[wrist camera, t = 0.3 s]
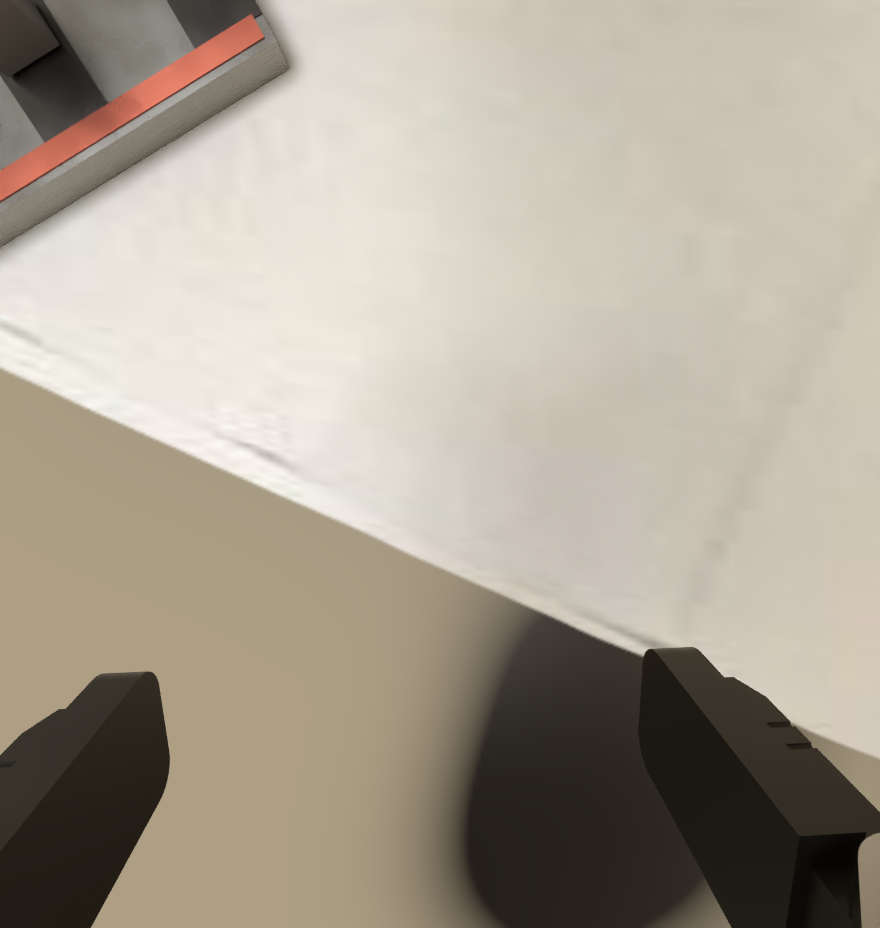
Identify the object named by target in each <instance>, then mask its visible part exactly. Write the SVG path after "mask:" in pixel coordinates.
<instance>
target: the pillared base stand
mask: <svg viewBox="0 0 880 928" xmlns="http://www.w3.org/2000/svg"><path fill="white" fill-rule="evenodd" d="M32 2H33V3H34V5H35V6H36V8H37V9H38V11H39V13H40V14H41V16H42V17H43V19H44V20H45V22H46V24H47V25H48V27H49V28H50V30H51V32H52V33H53V35H54V36H55V38H56V39H57V41H58V43H59V44H60V45H59V46H57V47H56V48H54V49H52V50H51V51H49V52H48V53H46V54H45V55H43V56H41V57H40V58H38V59H37V60H35V61H34V62H32V63H30V64H29V65H27V66H26V67H24V68H22V69H21V70H19V71H18V72H16V73H15V74H13V75H11V76H10V77H7V76H5V75H4V74H3V73H1V72H0V247H1V246H3V245H4V244H6V243H7V242H9V241H11V240H12V239H14V238H16V237H17V236H19V235H20V234H22V233H24V232H25V231H27V230H29V229H30V228H32V227H33V226H35V225H37V224H38V223H40V222H41V221H43V220H45V219H46V218H48V217H50V216H51V215H53V214H54V213H56V212H58V211H59V210H61V209H63V208H64V207H66V206H67V205H69V204H71V203H72V202H74V201H76V200H77V199H79V198H80V197H82V196H84V195H85V194H87V193H88V192H90V191H92V190H93V189H95V188H97V187H98V186H100V185H101V184H103V183H105V182H106V181H108V180H110V179H111V178H113V177H114V176H116V175H118V174H119V173H121V172H123V171H124V170H126V169H127V168H129V167H131V166H132V165H134V164H135V163H137V162H139V161H140V160H142V159H144V158H145V157H147V156H148V155H150V154H152V153H153V152H155V151H157V150H158V149H160V148H161V147H163V146H165V145H166V144H168V143H170V142H171V141H173V140H174V139H176V138H178V137H179V136H181V135H183V134H184V133H186V132H187V131H189V130H191V129H192V128H194V127H195V126H197V125H199V124H200V123H202V122H204V121H205V120H207V119H208V118H210V117H212V116H213V115H215V114H217V113H218V112H220V111H221V110H223V109H225V108H226V107H228V106H230V105H231V104H233V103H234V102H236V101H238V100H239V99H241V98H242V97H244V96H246V95H247V94H249V93H251V92H252V91H254V90H255V89H257V88H259V87H260V86H262V85H264V84H265V83H267V82H268V81H270V80H272V79H273V78H275V77H277V76H278V75H280V74H281V73H283V72H285V71H286V70H288V66H287V64H286V61H285V59H284V56H283V54H282V51H281V49H280V47H279V44H278V42H277V40H276V38H275V36H274V34H273V32H272V31H271V29H270V27H269V25H268V23H267V22H266V20H265V18H264V16H263V14H262V12H261V10H260V9H259V7H258V5H257V3H256V1H255V0H32Z"/></svg>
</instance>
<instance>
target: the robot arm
mask: <svg viewBox="0 0 880 928" xmlns="http://www.w3.org/2000/svg"><path fill="white" fill-rule="evenodd" d="M640 695H641V696H640V710H639V724H638V738H639V746H640V751H641V755H642V759H643V762H644V765H645V768H646V770H647V772H648V774H649V776H650V778H651V780H652V782H653V784H654V785H655V787H656V789H657V791H658V793H659V795H660V796H661V798H662V800H663V802H664V804H665V806H666V807H667V809H668V811H669V813H670V815H671V817H672V819H673V820H674V822H675V824H676V826H677V828H678V830H679V832H680V833H681V835H682V837H683V839H684V841H685V843H686V844H687V846H688V848H689V850H690V852H691V854H692V856H693V857H694V859H695V861H696V863H697V865H698V867H699V868H700V870H701V872H702V874H703V876H704V878H705V879H706V881H707V883H708V885H709V887H710V889H711V891H712V892H713V894H714V896H715V898H716V899H717V901H718V903H719V905H720V907H721V909H722V911H723V913H724V914H725V916H726V918H727V920H728V922H729V924H730V926H731V927H732V928H880V812H879V811H878V810H877V809H876V808H875V807H874V806H873V805H872V804H871V803H870V802H869V801H868V800H867V799H866V798H865V797H864V796H863V795H862V794H861V793H860V792H859V791H858V790H857V789H856V788H855V787H854V786H853V785H852V784H851V783H850V782H849V781H848V780H847V778H845V776H843V774H842V773H841V772H840V771H839V770H838V769H837V768H836V767H835V766H834V765H833V764H832V763H831V762H830V761H829V760H828V759H827V758H826V757H825V756H824V755H823V754H822V753H821V752H820V751H819V750H818V749H817V748H812V746H811V742H810V741H809V740H808V739H807V738H806V737H805V736H804V735H803V734H802V733H801V732H800V731H799V730H798V729H797V728H796V727H795V726H794V727H792V726H791V724H790V721H789V720H788V719H787V718H786V717H785V716H784V715H783V714H782V713H781V712H780V711H779V710H778V709H777V708H776V707H775V706H774V705H773V704H772V703H771V701H770V700H769V699H768V698H767V697H765V696H764V695H762V694H760V693H759V692H757V691H755V690H754V689H752V688H750V687H749V686H747V685H745V684H744V683H742V682H741V681H739V680H737V679H736V678H734V677H725V678H724V677H723V676H722V675H721V673H720V672H719V671H718V670H717V669H716V668H715V667H714V666H713V665H712V664H711V663H710V661H709V660H708V659H707V658H706V657H705V656H704V655H703V654H702V653H701V652H700V651H699V650H698V649H696V648H694V647H682V648H661V649H648V650H647V651H646V652H645V655H644V658H643V665H642V679H641V694H640ZM169 765H170V755H169V747H168V740H167V734H166V727H165V721H164V715H163V708H162V701H161V696H160V688H159V683H158V680H157V677H156V676H155V674H154V673H152V672H130V673H107V674H100V675H98V676H96V677H95V678H94V679H93V680H92V681H91V682H90V683H89V684H88V685H87V687H86V688H85V689H84V690H83V691H82V692H81V693H80V694H79V695H78V696H77V697H76V698H75V699H74V701H73V702H72V703H71V704H70V705H69V706H68V707H67V708H66V709H59V710H57V711H56V712H54V713H53V714H51V715H50V716H48V717H46V718H45V719H43V720H42V721H40V722H39V723H37V724H36V725H34V726H33V727H31V728H30V729H28V730H27V731H25V732H24V733H22V734H21V735H20V736H19V737H18V738H17V739H16V740H15V741H14V742H13V743H12V744H11V745H10V746H9V747H8V748H7V749H6V750H5V751H4V752H3V753H2V754H1V755H0V928H91V926H92V924H93V923H94V920H95V919H96V917H97V915H98V913H99V912H100V910H101V908H102V906H103V904H104V902H105V900H106V899H107V897H108V895H109V893H110V891H111V890H112V888H113V886H114V884H115V882H116V880H117V879H118V877H119V875H120V873H121V871H122V869H123V868H124V866H125V864H126V862H127V860H128V858H129V857H130V855H131V853H132V851H133V849H134V847H135V846H136V844H137V842H138V840H139V838H140V836H141V835H142V833H143V831H144V829H145V827H146V825H147V823H148V822H149V820H150V818H151V816H152V814H153V812H154V811H155V809H156V807H157V805H158V803H159V801H160V799H161V797H162V795H163V793H164V790H165V787H166V783H167V779H168V773H169Z"/></svg>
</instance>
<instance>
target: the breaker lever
mask: <svg viewBox="0 0 880 928" xmlns="http://www.w3.org/2000/svg"><path fill="white" fill-rule="evenodd" d="M59 45H60V44H59V43H58V41H57V39H56V38H55V36H54V35H53V33H52V32H51V30H50V28H49V27H48V25H47V24H46V22H45V20H44V19H43V17H42V16H41V14H40V13H39V11H38V9H37V8H36V6H35V5H34V3H33V2H32V0H0V72H1V73H3V74H4V75H5V76H7V77H10V76H11V75H13V74H15V73H16V72H18V71H19V70H21V69H22V68H24V67H26V66H27V65H29V64H30V63H32V62H34V61H35V60H37V59H38V58H40V57H41V56H43V55H45V54H46V53H48V52H49V51H51V50H52V49H54V48H56V47H57V46H59Z"/></svg>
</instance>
